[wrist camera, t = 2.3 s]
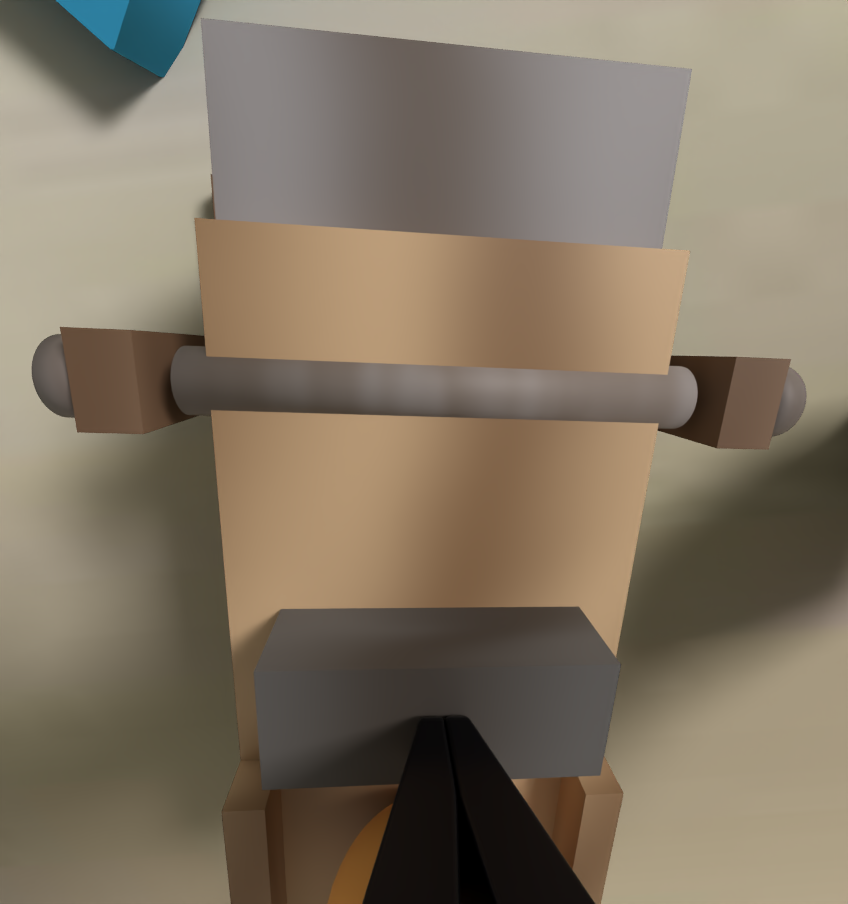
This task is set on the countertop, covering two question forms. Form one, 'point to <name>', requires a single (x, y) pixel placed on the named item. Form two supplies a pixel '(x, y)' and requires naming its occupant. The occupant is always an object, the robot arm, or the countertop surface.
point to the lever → (138, 27)
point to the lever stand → (151, 353)
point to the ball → (359, 862)
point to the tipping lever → (428, 418)
